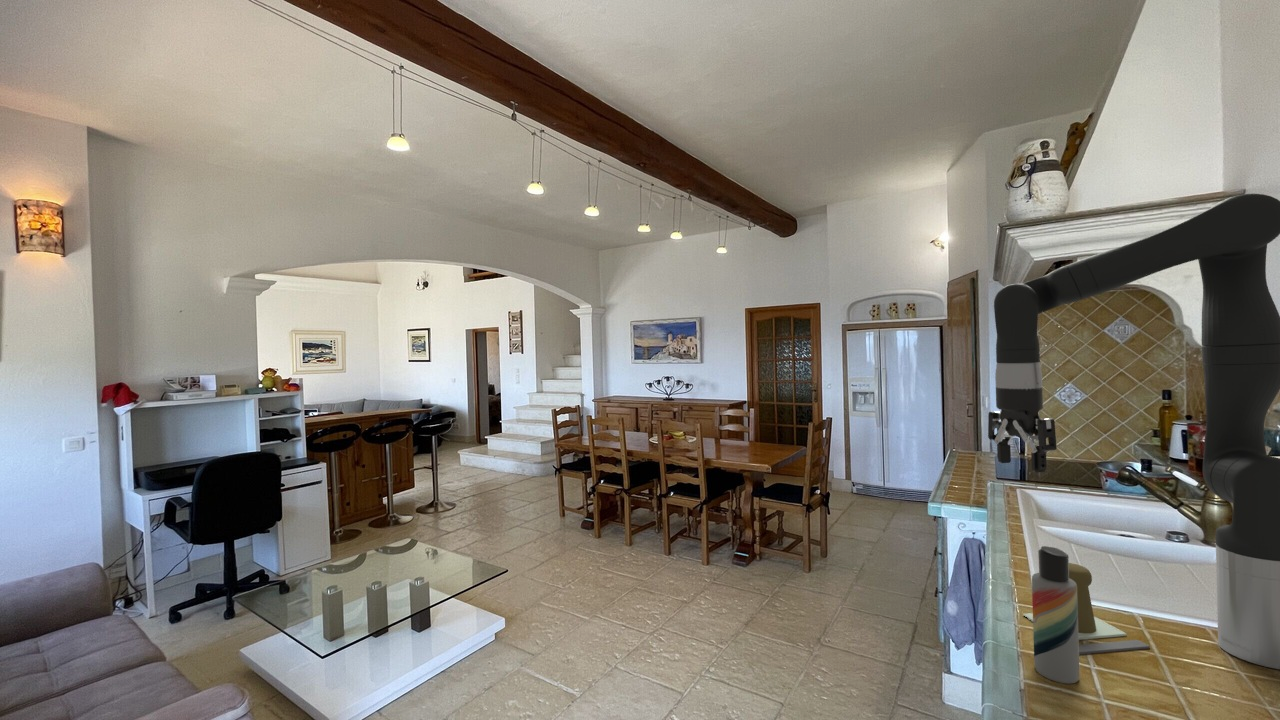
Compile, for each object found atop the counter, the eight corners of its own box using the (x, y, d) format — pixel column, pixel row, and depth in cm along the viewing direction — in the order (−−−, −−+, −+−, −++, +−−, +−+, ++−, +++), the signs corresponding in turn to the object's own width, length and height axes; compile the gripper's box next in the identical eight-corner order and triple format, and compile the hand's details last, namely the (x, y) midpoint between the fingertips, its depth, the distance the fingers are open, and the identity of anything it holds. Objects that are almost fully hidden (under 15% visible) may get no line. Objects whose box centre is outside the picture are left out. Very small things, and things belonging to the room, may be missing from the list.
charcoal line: (1138, 641, 92) (1138, 639, 92) (1149, 648, 90) (1149, 646, 90) (1051, 649, 91) (1051, 647, 91) (1061, 656, 89) (1061, 653, 89)
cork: (1104, 634, 94) (1102, 573, 94) (1065, 632, 95) (1063, 571, 95) (1083, 617, 100) (1082, 559, 99) (1047, 615, 101) (1045, 558, 101)
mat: (1080, 611, 103) (1080, 609, 103) (1126, 635, 94) (1126, 633, 94) (1022, 615, 102) (1022, 613, 102) (1063, 641, 93) (1063, 638, 93)
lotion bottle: (1035, 658, 88) (1031, 540, 88) (1079, 670, 85) (1076, 547, 84) (1033, 675, 84) (1029, 551, 84) (1079, 689, 80) (1076, 558, 80)
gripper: (1067, 387, 98) (1070, 474, 98) (1008, 382, 112) (1010, 458, 112) (1029, 388, 97) (1032, 476, 97) (975, 384, 111) (977, 460, 112)
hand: (1020, 467), depth 105 cm, fingers open, 8 cm apart
